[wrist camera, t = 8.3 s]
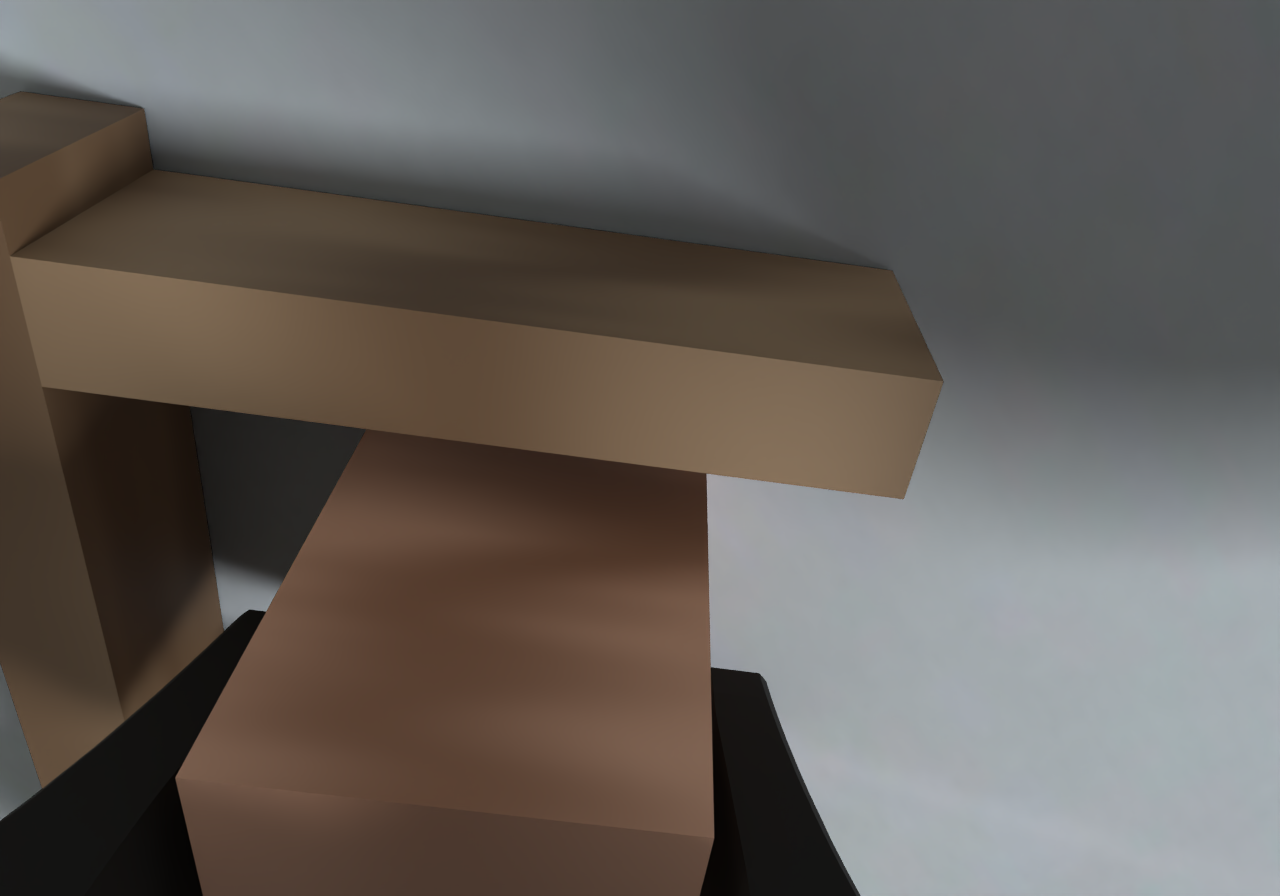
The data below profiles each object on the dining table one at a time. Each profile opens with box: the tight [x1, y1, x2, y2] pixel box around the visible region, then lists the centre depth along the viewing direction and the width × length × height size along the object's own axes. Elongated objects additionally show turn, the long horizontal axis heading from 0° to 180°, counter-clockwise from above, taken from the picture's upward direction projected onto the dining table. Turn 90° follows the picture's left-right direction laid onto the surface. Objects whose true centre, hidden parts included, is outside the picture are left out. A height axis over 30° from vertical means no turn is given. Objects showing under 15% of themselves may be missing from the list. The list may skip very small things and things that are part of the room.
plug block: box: [175, 429, 714, 896], centre depth 12 cm, size 4×4×7 cm
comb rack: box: [0, 91, 944, 788], centre depth 16 cm, size 11×20×3 cm, turn 173°
